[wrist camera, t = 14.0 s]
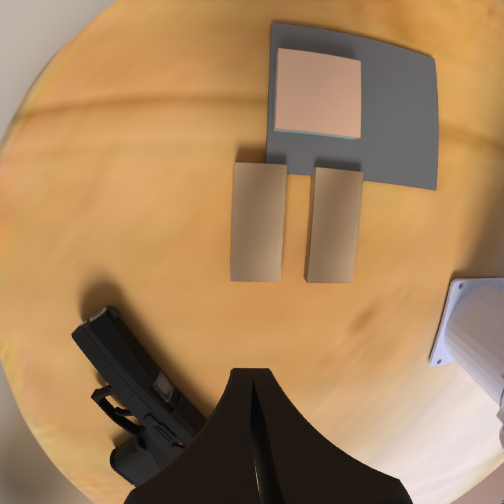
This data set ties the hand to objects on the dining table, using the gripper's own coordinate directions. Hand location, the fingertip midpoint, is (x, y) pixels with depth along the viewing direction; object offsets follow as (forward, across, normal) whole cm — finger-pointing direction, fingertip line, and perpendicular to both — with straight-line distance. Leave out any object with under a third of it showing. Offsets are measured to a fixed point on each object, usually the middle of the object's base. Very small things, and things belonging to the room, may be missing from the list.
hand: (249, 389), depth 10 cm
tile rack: (+10, -3, -4) cm, 11 cm away
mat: (+10, -7, -12) cm, 17 cm away
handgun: (+11, +9, +11) cm, 18 cm away
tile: (+9, -6, -12) cm, 17 cm away
